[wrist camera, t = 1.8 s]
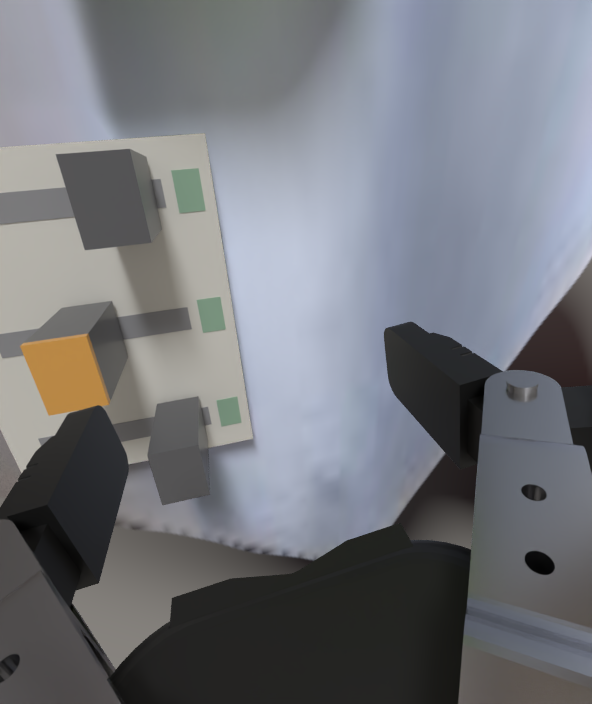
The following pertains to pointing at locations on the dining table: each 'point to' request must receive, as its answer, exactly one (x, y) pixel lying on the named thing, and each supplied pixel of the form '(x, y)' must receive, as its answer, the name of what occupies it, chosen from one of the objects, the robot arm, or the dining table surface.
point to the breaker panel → (121, 294)
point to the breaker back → (179, 451)
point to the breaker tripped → (77, 357)
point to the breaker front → (111, 197)
